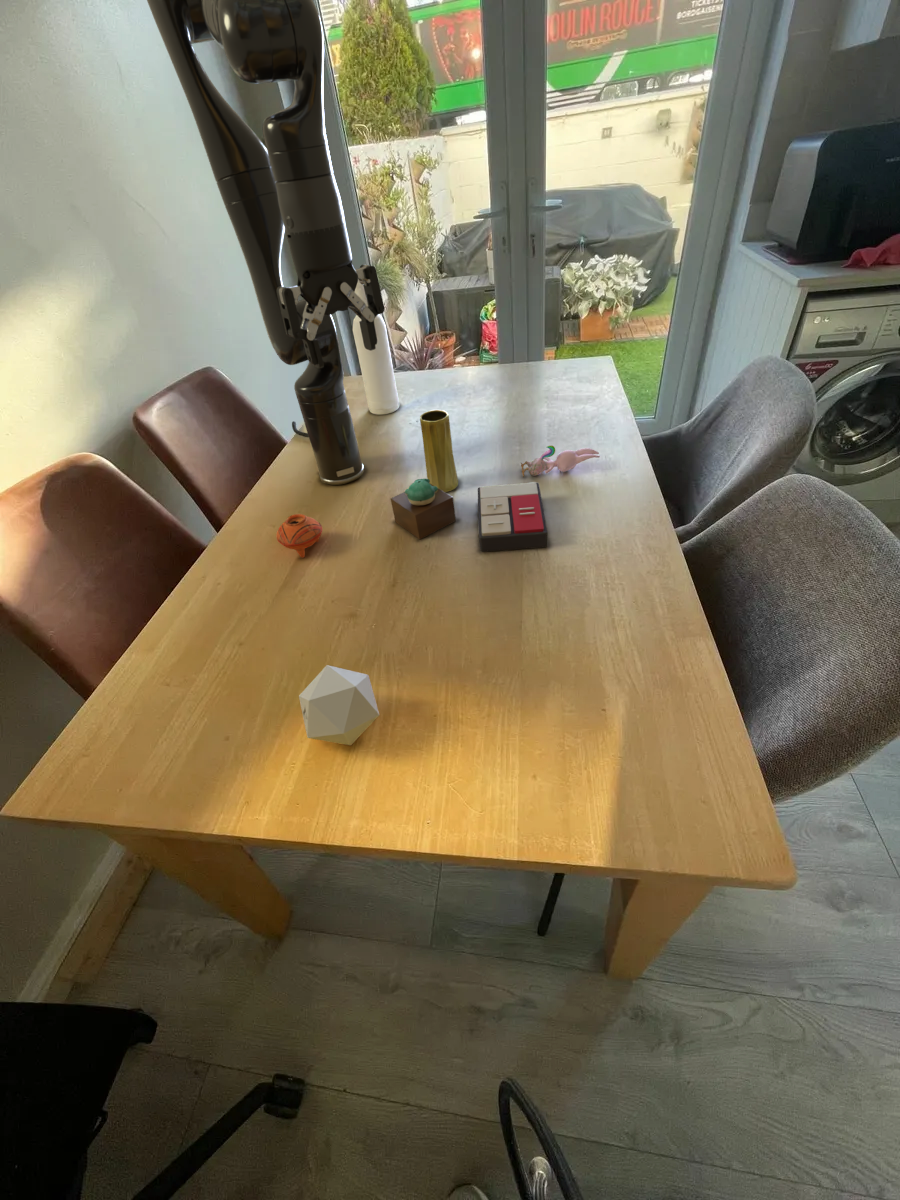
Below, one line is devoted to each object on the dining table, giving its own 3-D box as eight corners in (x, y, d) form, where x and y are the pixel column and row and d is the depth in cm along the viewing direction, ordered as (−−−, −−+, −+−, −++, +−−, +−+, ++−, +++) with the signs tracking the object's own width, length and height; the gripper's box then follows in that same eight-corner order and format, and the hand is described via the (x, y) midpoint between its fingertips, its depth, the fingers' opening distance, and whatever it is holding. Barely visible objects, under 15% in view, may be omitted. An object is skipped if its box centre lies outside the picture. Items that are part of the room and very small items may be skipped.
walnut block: (395, 522, 101) (390, 498, 97) (430, 504, 104) (426, 481, 101) (419, 539, 96) (415, 515, 92) (456, 521, 99) (453, 496, 95)
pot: (271, 559, 95) (262, 522, 92) (297, 542, 102) (290, 507, 99) (310, 563, 93) (302, 525, 90) (334, 546, 99) (328, 510, 96)
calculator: (478, 534, 88) (477, 483, 99) (480, 555, 91) (478, 503, 102) (547, 529, 87) (538, 478, 98) (547, 550, 90) (538, 498, 101)
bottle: (398, 413, 138) (374, 278, 119) (367, 416, 139) (339, 282, 119) (401, 400, 144) (378, 270, 125) (371, 404, 145) (344, 274, 125)
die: (331, 694, 72) (273, 683, 64) (384, 663, 69) (330, 648, 61) (346, 756, 68) (286, 753, 60) (402, 726, 66) (348, 719, 57)
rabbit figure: (524, 487, 107) (603, 470, 104) (518, 460, 103) (600, 441, 100) (522, 472, 112) (597, 455, 109) (517, 445, 108) (594, 427, 105)
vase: (455, 493, 106) (447, 422, 97) (424, 493, 107) (413, 423, 98) (461, 477, 110) (453, 408, 101) (431, 477, 112) (421, 409, 102)
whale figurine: (404, 509, 94) (400, 490, 92) (407, 487, 100) (404, 468, 97) (438, 506, 94) (435, 487, 91) (439, 485, 99) (437, 465, 97)
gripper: (349, 211, 74) (373, 339, 84) (250, 233, 68) (289, 367, 79) (378, 213, 69) (400, 348, 80) (273, 236, 63) (312, 378, 74)
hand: (345, 357), depth 79 cm, fingers open, 8 cm apart
